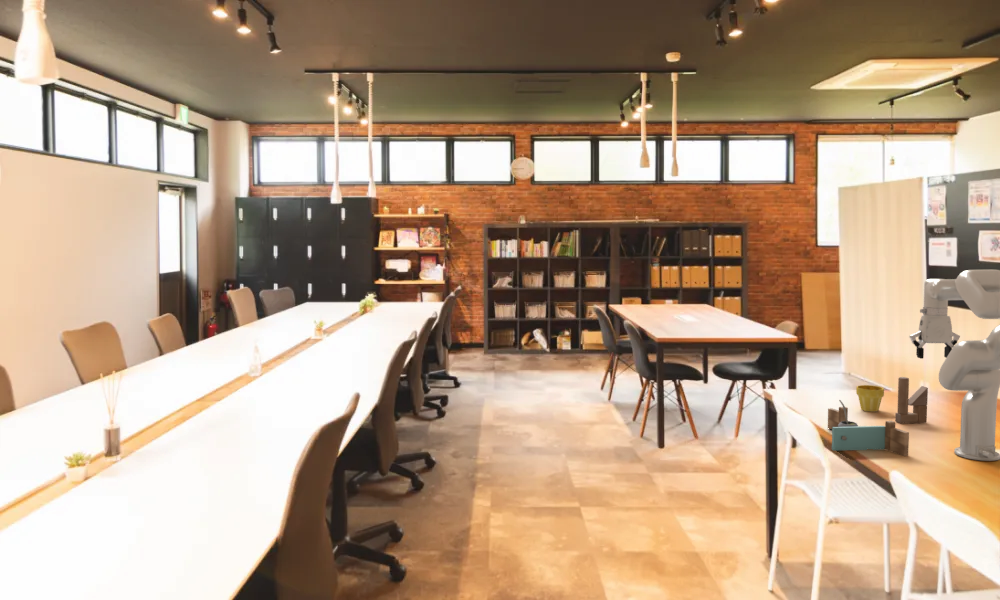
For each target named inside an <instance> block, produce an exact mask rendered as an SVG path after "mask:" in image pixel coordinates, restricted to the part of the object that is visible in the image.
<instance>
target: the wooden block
mask: <svg viewBox="0 0 1000 600" xmlns="http://www.w3.org/2000/svg"><path fill="white" fill-rule="evenodd" d="M897 379H898V381H897V382H898V383H897V385H898V386H897V412H895V415H894V416H895V418H894V422H895V423H898V424H927V423H928V422H927V418H928V416H927V415H928V393H929V387H926V386H924V385H921V386H920V387H919V388H918V389H917V390H916V391H915V392H914V393H913V394H912V395H911V396H910V397H909V390H910V389H909V388H910V387H909V386H910V379H909V377H906V376H900V377H899V376H898V378H897ZM909 406H912V412H909Z"/></svg>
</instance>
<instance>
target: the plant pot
mask: <svg viewBox="0 0 1000 600" xmlns="http://www.w3.org/2000/svg"><path fill="white" fill-rule="evenodd" d="M855 392H856V393H855V394H856V396H858V401H859V406H860V410H861V411H863V410H864V412H872V413H873V412H875V411H876V412H879V410H880V406H881V403H882V399H883V398H884V396H885V388H884V387H882V386H878V385H872V384H871V385H870V384H863V385H857V386H856V391H855Z"/></svg>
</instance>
